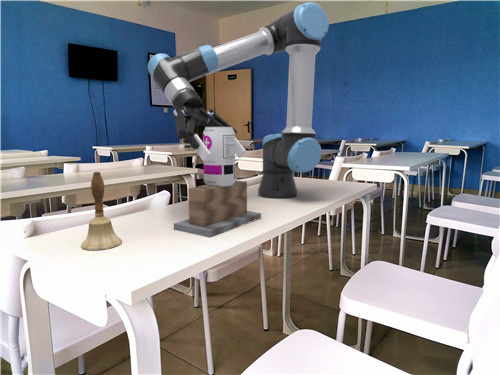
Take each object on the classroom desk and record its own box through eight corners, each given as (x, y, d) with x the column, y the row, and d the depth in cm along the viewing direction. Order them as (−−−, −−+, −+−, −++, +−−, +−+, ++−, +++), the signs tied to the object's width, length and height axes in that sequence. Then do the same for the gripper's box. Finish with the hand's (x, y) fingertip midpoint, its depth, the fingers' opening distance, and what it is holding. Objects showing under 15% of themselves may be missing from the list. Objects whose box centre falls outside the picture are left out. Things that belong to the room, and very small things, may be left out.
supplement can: (207, 187, 87) (205, 126, 85) (202, 183, 95) (200, 127, 92) (238, 186, 89) (238, 126, 87) (231, 181, 97) (230, 127, 95)
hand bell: (75, 244, 76) (69, 172, 74) (112, 236, 82) (108, 169, 80) (89, 253, 71) (83, 175, 68) (128, 244, 76) (124, 172, 74)
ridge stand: (227, 212, 106) (227, 178, 104) (261, 218, 99) (261, 181, 97) (173, 229, 88) (172, 188, 86) (209, 237, 81) (209, 192, 80)
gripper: (209, 111, 108) (247, 162, 101) (140, 106, 88) (181, 169, 81) (221, 92, 104) (262, 144, 97) (152, 83, 84) (197, 147, 77)
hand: (225, 156), depth 89 cm, fingers open, 13 cm apart
